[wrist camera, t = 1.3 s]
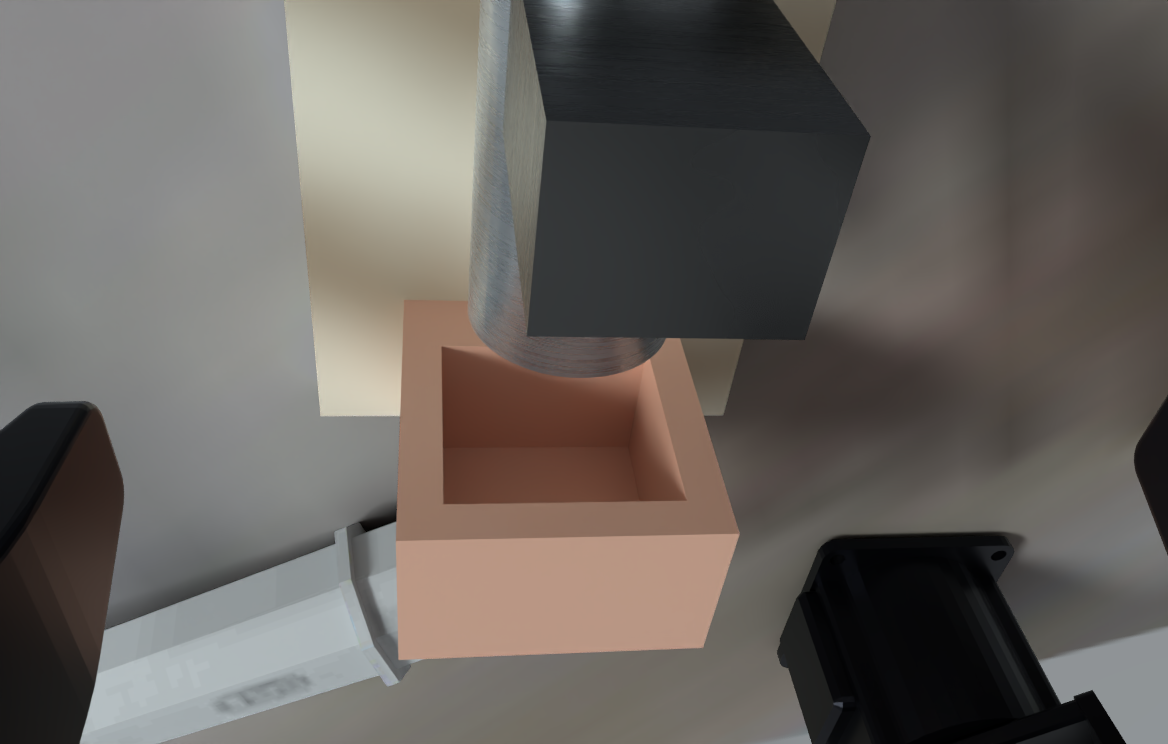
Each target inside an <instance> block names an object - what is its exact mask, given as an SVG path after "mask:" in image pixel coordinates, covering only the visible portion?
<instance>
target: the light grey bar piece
mask: <svg viewBox="0 0 1168 744" xmlns="http://www.w3.org/2000/svg"><path fill="white" fill-rule="evenodd" d="M334 532H335V544H333V545H331V546H328V547H325V548H323V549H320V550H317V551H315V552H312V553H309V554H307V555H304V556H301V557H298V558H296V559H293V560H290V561H288V562H285V563H282V564H280V565H277V566H274V567H272V568H269V569H266V570H264V571H261V572H258V573H256V574H253V575H250V576H248V577H245V578H242V579H240V580H237V581H234V582H232V583H229V584H226V585H224V586H221V587H218V588H216V589H213V590H210V591H208V592H205V593H202V594H200V595H197V596H194V597H192V598H189V599H186V600H184V601H181V602H178V603H176V604H173V605H170V606H168V607H165V608H162V609H160V610H157V611H154V612H152V613H149V614H146V615H144V616H141V617H138V618H136V619H133V620H130V621H128V622H125V623H122V624H120V625H117V626H114V627H112V628H109V629H106V630H104V636H103V642H102V649H101V655H100V661H99V666H98V672H97V678H96V683H95V688H94V692H93V696H92V700H91V704H90V708H89V712H88V716H87V719H86V723H85V726H84V730H83V733H82V737H81V740H80V744H158V743H161V742H165V741H168V740H171V739H174V738H178V737H181V736H184V735H187V734H191V733H194V732H197V731H200V730H203V729H207V728H210V727H213V726H216V725H220V724H223V723H226V722H229V721H233V720H236V719H239V718H242V717H245V716H249V715H252V714H255V713H258V712H262V711H265V710H268V709H271V708H275V707H278V706H281V705H284V704H288V703H291V702H294V701H297V700H300V699H304V698H307V697H310V696H313V695H317V694H320V693H323V692H326V691H330V690H333V689H336V688H339V687H342V686H346V685H349V684H352V683H355V682H359V681H362V680H365V679H368V678H372V677H375V676H378V675H380V677H381V678H382V680H383V681H384V682H385V684H386V685H387V686H391V685H393V684H396V683H399V682H400V681H401V680H402V678H403V677H404V675H405V674H406V673H407V671H408V670H409V669H410V667H411V665H410V664H411V663H414V662H417V661H420V660H422V659H411V660H399V659H398V615H397V572H396V522H393V523H390V524H388V525H385V526H382V527H379V528H377V529H374V530H371V531H368V532H365V531H364V529H363V527H362V526H361V524H360V523H356V524H353V525H351V526H348V527H345V528H343V529H340V530H337V531H334Z"/></svg>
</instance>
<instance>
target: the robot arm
mask: <svg viewBox="0 0 1168 744" xmlns="http://www.w3.org/2000/svg"><path fill="white" fill-rule="evenodd" d="M1134 465H1135V471H1136V474H1137V477H1138V479H1139V482H1140V484H1141V487H1142V490H1143V492H1144V495H1145V497H1146V500H1147V503H1148V505H1149V508H1150V510H1151V513H1152V516H1153V518H1154V521H1155V523H1156V526H1157V528H1158V531H1159V534H1160V536H1161V539H1162V541H1163V544H1164V547H1165V549H1166V552H1167V554H1168V395H1167V397H1166V399H1165V400H1164V402H1163V403H1162V405H1161V407H1160V408H1159V410H1158V411H1157V413H1156V415H1155V416H1154V418H1153V419H1152V421H1151V422H1150V424H1149V426H1148V427H1147V429H1146V430H1145V432H1144V434H1143V435H1142V437H1141V438H1140V440H1139V442H1138V444H1137V446H1136V449H1135V453H1134ZM123 505H124V485H123V478H122V474H121V471H120V468H119V465H118V462H117V459H116V456H115V452H114V449H113V446H112V443H111V440H110V437H109V434H108V431H107V428H106V425H105V422H104V419H103V416H102V414H101V412H100V410H99V409H98V408H97V406H96V405H94V404H92V403H90V402H86V401H73V402H42V403H37V404H35V405H33V406H31V407H29V408H28V409H26V410H25V411H24V412H22V413H21V414H20V415H19V416H17V417H16V418H15V419H14V420H13V421H11V422H10V423H9V424H8V425H6V426H5V427H4V428H3V429H2V430H0V744H80V740H81V737H82V733H83V730H84V726H85V723H86V719H87V716H88V712H89V708H90V704H91V700H92V696H93V692H94V688H95V683H96V678H97V672H98V666H99V661H100V655H101V649H102V642H103V636H104V629H105V623H106V616H107V610H108V603H109V597H110V590H111V584H112V577H113V571H114V564H115V558H116V551H117V545H118V538H119V532H120V525H121V519H122V512H123ZM1013 554H1014V549H1013V547H1012V546H1011V544H1010V542H1009V540H1008V539H1007V538H1006V537H1004V536H972V537H927V538H883V539H838V540H831V541H829V542H827V543H825V544H823V545H822V546H821V547H820V549H819V550H818V552H817V555H816V557H815V560H814V562H813V565H812V567H811V570H810V572H809V575H808V577H807V579H806V582H805V584H804V587H803V589H802V592H801V593H800V594H799V596H798V597H797V598H796V601H795V603H794V606H793V608H792V611H791V613H790V616H789V618H788V621H787V623H786V626H785V628H784V630H783V633H782V635H781V638H780V646H779V648H778V650H777V655H778V658H779V661H780V664H781V665H782V666H783V667H785V668H789V672H790V675H791V678H792V681H793V684H794V688H795V691H796V694H797V697H798V700H799V704H800V707H801V710H802V713H803V716H804V720H805V723H806V726H807V729H808V733H809V736H810V739H811V742H812V744H1126V743H1125V741H1124V740H1123V738H1122V736H1121V735H1120V733H1119V731H1118V730H1117V729H1116V727H1115V725H1114V724H1113V722H1112V721H1111V719H1110V717H1109V716H1108V714H1107V712H1106V711H1105V709H1104V708H1103V706H1102V704H1101V703H1100V701H1099V700H1098V698H1097V697H1096V695H1095V693H1094V692H1093V690H1091V691H1088V692H1085V693H1082V694H1079V695H1076V696H1074V700H1072V701H1069V702H1067V703H1063V704H1061V703H1060V701H1059V699H1058V697H1057V695H1056V693H1055V692H1054V690H1053V688H1052V686H1051V684H1050V682H1049V680H1048V678H1047V677H1046V675H1045V673H1044V671H1043V669H1042V667H1041V665H1040V663H1039V662H1038V660H1037V658H1036V656H1035V654H1034V652H1033V650H1032V649H1031V647H1030V645H1029V643H1028V641H1027V639H1026V637H1025V635H1024V634H1023V632H1022V630H1021V628H1020V626H1019V624H1018V622H1017V620H1016V619H1015V617H1014V615H1013V613H1012V611H1011V609H1010V607H1009V605H1008V604H1007V602H1006V600H1005V598H1004V596H1003V594H1002V592H1001V590H1000V589H999V587H998V585H997V583H996V582H997V581H998V579H999V577H1000V576H1001V574H1002V572H1003V571H1004V569H1005V568H1006V566H1007V564H1008V563H1009V561H1010V559H1011V558H1012V556H1013Z"/></svg>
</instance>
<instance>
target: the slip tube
mask: <svg viewBox="0 0 1168 744" xmlns="http://www.w3.org/2000/svg"><path fill="white" fill-rule="evenodd" d="M869 139H870V134H869V133H868V132H867V130H866V129H865V127H864V126H863V125H862V123H861V122H860V120H859V119H858V118H857V116H856V115H855V113H854V112H853V111H852V109H851V108H850V106H849V105H848V104H847V102H846V101H845V100H844V98H843V97H842V95H841V94H840V93H839V91H838V90H837V88H836V87H835V86H834V84H833V83H832V81H831V80H830V79H829V77H828V76H827V74H826V73H825V72H824V70H823V69H822V67H821V66H820V65H819V63H818V62H817V60H816V59H815V58H814V56H813V55H812V54H811V52H810V51H809V49H808V48H807V47H806V45H805V44H804V42H803V41H802V40H801V38H800V37H799V35H798V34H797V33H796V31H795V30H794V28H793V27H792V26H791V24H790V23H789V21H788V20H787V19H786V17H785V16H784V14H783V13H782V12H781V10H780V9H779V8H778V6H777V5H776V3H775V2H774V1H773V0H480V18H479V43H478V68H477V92H476V117H475V142H474V167H473V191H472V216H471V241H470V266H469V290H468V316H469V320H470V323H471V325H472V328H473V329H474V331H475V333H476V334H477V336H478V337H479V338H480V339H481V340H482V342H483V343H484V344H485V345H487V346H488V347H489V348H490V349H491V350H492V351H494V352H495V353H497V354H498V355H500V356H501V357H503V358H504V359H506V360H508V361H510V362H512V363H514V364H516V365H519V366H521V367H523V368H526V369H529V370H532V371H536V372H539V373H543V374H548V375H552V376H560V377H569V378H595V377H602V376H609V375H613V374H618V373H622V372H624V371H627V370H630V369H633V368H635V367H637V366H639V365H641V364H643V363H644V362H646V361H647V360H649V359H650V358H651V357H652V356H654V355H655V354H656V353H657V352H658V351H659V349H660V348H661V347H662V345H663V344H664V342H665V340H666V338H699V339H782V340H805V337H806V334H807V331H808V328H809V324H810V321H811V318H812V315H813V312H814V309H815V306H816V303H817V300H818V297H819V294H820V291H821V287H822V284H823V281H824V278H825V275H826V272H827V269H828V266H829V263H830V260H831V257H832V254H833V250H834V247H835V244H836V241H837V238H838V235H839V232H840V229H841V226H842V223H843V220H844V217H845V213H846V210H847V207H848V204H849V201H850V198H851V195H852V192H853V189H854V186H855V183H856V179H857V176H858V173H859V170H860V167H861V164H862V161H863V158H864V155H865V152H866V149H867V146H868V142H869Z"/></svg>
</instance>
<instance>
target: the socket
mask: <svg viewBox="0 0 1168 744" xmlns="http://www.w3.org/2000/svg"><path fill="white" fill-rule="evenodd" d="M739 534H740V533H739V530H738V527H737V524H736V520H735V517H734V514H733V510H732V507H731V504H730V501H729V497H728V494H727V491H726V488H725V484H724V481H723V478H722V474H721V471H720V468H719V465H718V461H717V458H716V455H715V452H714V448H713V445H712V442H711V438H710V435H709V432H708V429H707V425H706V422H705V419H704V416H703V412H702V409H701V406H700V402H699V399H698V396H697V393H696V389H695V386H694V383H693V380H692V376H691V373H690V370H689V366H688V363H687V360H686V357H685V353H684V350H683V347H682V344H681V340H680V338H666V340H665V342H664V344H663V345H662V347H661V348H660V349H659V351H658V352H657V353H656V354H655V355H654V356H652V357H651V358H650V359H649V360H647V361H646V362H644V363H643V364H641V365H639V366H637V367H635V368H633V369H630V370H627V371H624V372H622V373H618V374H613V375H609V376H602V377H595V378H569V377H560V376H552V375H548V374H543V373H539V372H536V371H532V370H529V369H526V368H523V367H521V366H519V365H516V364H514V363H512V362H510V361H508V360H506V359H504V358H503V357H501V356H500V355H498V354H497V353H495V352H494V351H492V350H491V349H490V348H489V347H488V346H487V345H485V344H484V343H483V342H482V340H481V339H480V338H479V337H478V336H477V334H476V333H475V331H474V329H473V328H472V325H471V323H470V320H469V316H468V301H444V300H404V317H403V347H402V376H401V405H400V434H399V463H398V492H397V521H396V572H397V615H398V659H399V660H411V659H435V658H460V657H485V656H510V655H535V654H560V653H585V652H610V651H635V650H659V649H684V648H703V646H704V643H705V640H706V636H707V633H708V630H709V627H710V624H711V621H712V618H713V615H714V612H715V609H716V605H717V602H718V599H719V596H720V593H721V590H722V587H723V584H724V581H725V578H726V574H727V571H728V568H729V565H730V562H731V559H732V556H733V553H734V550H735V547H736V543H737V540H738V537H739Z"/></svg>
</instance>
